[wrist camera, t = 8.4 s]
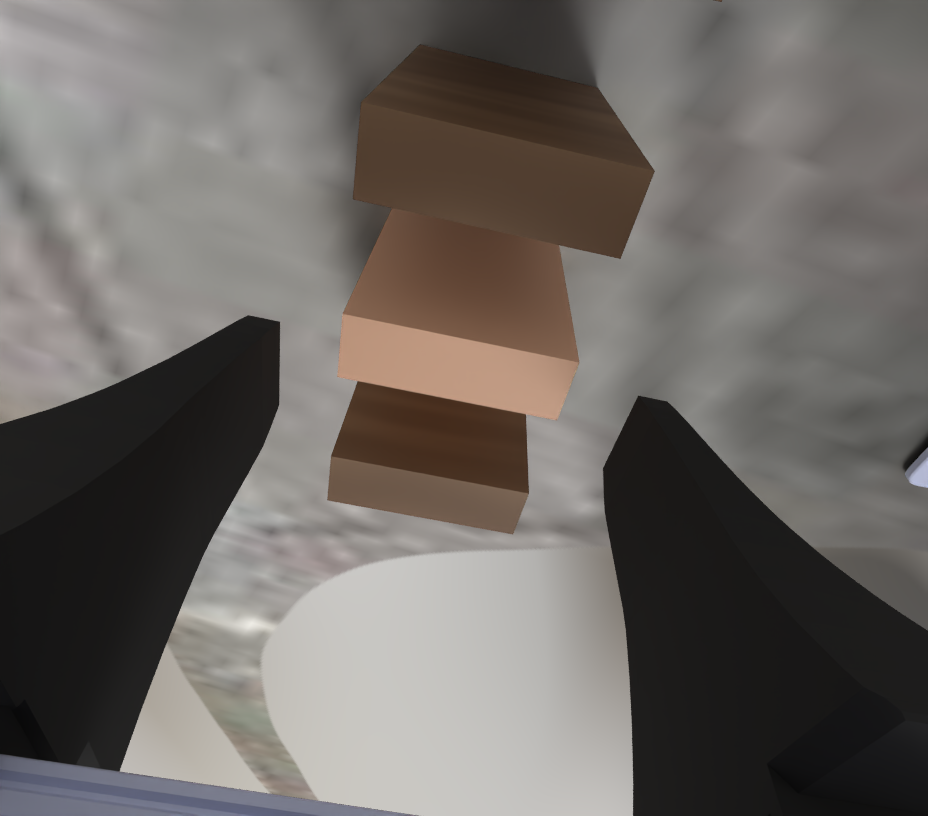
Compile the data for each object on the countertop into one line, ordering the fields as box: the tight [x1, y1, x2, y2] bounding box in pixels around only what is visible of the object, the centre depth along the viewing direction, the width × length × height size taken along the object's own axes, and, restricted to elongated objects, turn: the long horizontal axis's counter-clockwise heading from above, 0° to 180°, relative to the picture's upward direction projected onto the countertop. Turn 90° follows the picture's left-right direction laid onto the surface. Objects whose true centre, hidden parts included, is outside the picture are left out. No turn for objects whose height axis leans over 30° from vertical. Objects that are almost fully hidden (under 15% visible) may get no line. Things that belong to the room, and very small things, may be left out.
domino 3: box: [327, 381, 529, 534], centre depth 18 cm, size 2×5×8 cm, turn 78°
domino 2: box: [337, 208, 579, 420], centre depth 16 cm, size 2×5×8 cm, turn 78°
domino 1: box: [353, 45, 655, 259], centre depth 13 cm, size 2×5×8 cm, turn 78°
